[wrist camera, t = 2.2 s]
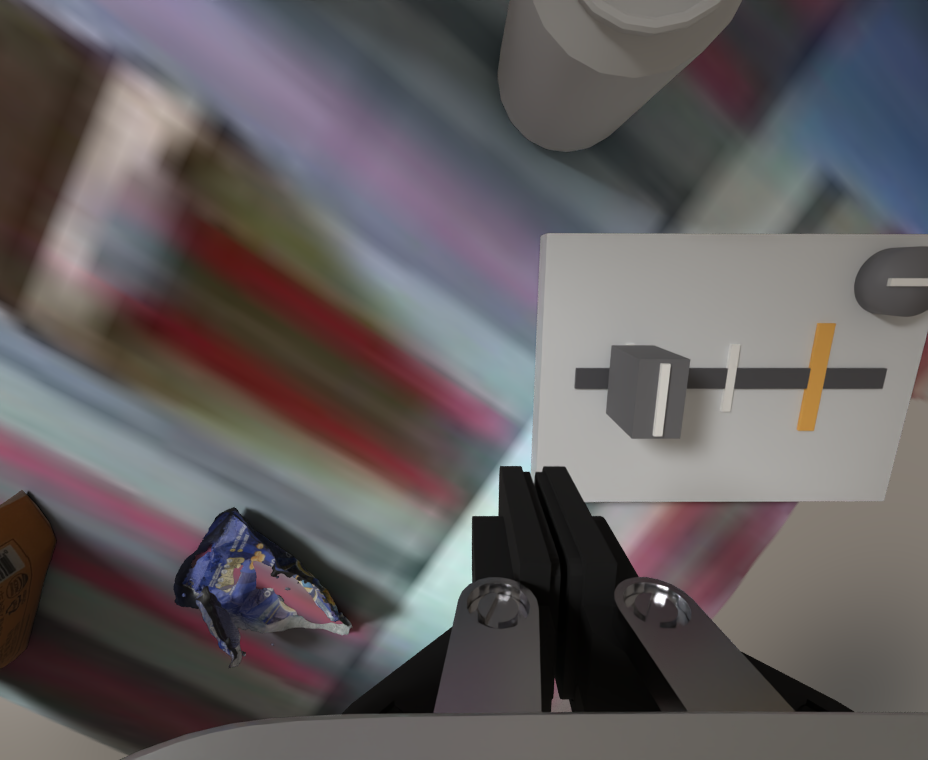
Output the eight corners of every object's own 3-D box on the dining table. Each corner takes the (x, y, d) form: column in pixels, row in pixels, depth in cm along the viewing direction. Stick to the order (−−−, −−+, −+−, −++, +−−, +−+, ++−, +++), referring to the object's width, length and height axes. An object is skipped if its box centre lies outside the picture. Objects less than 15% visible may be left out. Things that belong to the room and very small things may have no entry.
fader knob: (611, 345, 25) (641, 360, 21) (654, 345, 25) (692, 360, 21) (605, 413, 26) (633, 440, 21) (646, 413, 26) (682, 440, 22)
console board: (540, 236, 26) (553, 230, 22) (915, 237, 26) (989, 231, 22) (530, 486, 29) (539, 516, 26) (856, 486, 30) (910, 515, 26)
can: (584, -37, 22) (718, -370, 11) (661, 94, 24) (853, -74, 12) (467, 65, 23) (475, -137, 12) (548, 185, 25) (625, 110, 13)
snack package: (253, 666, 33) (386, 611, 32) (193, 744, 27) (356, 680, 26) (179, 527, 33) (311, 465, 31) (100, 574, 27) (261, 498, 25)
